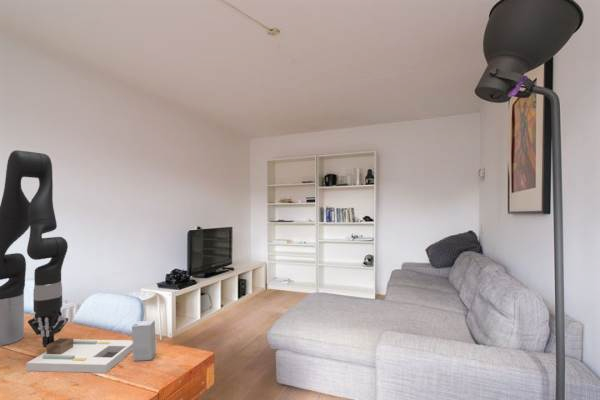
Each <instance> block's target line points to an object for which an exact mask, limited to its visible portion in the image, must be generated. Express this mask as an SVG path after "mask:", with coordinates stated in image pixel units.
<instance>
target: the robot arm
mask: <svg viewBox="0 0 600 400" xmlns="http://www.w3.org/2000/svg"><path fill="white" fill-rule="evenodd" d="M6 163H7V164H6V170H5V179H4V180H5V181H4V188H3V192H2V193H3V194H2V198H1V201H0V280H1V281H3V280H6V279H8V280H7V281H6V282H5V283H4V284H1V285H0V346H1V347H2V346H6V345H10V344H14V343H16V342H19V341H21V340H22V339H23V338H24V336H25V334H24V333H25V332H24V331H25V301H24V300H25V286H26V271H27V261H26V257H25V256H24V254H22V253H18V252H15V253H8V254H7V251H8V249H9V248H10V247H11V246H12V245H13V244H14V243H15V242H17V240H19V239H20V238H21V237H22V236H23V235H24V234H25V233H26V232H27V231H28V230H29V237H28V242H27V248H26V253H27V255H28V257H29V258H30V259H32V260H34V261H37V260H46V259H50V260H49V262H48V263H45V264H42V265H40V266H38V267H36V268H35V270H34V276H33V277H34V287H33V294H32V295H33V299H32V301H33V312H34V316H33V318H31V319H29V320H27V324H28V325H29V327H31V329H32V330H33V331H34V333H35V335H37V336H38V335H40V336H41V338H42V342H41V343H42V346H43V348H47V345H48V344H50V343H51V342H53V341H55V335H56V334H58V333H60V332H61V330H62V329H63V328H64V326H66V324H67V323H68V321H69V318H68V317H64V316H63V314H62V311H61V310H62V307H63V284H62V268H63V264H64V261H65V258H66V256H67V252H68V247H69V245H68V241H67V239H65V238H64V237H62V236H54V237H53V236H52V237H43V236H42V235H43V234H46V233H50V232H53V231H55V230H56V229H57V227H58V225H57V219H56V214H55V209H54V203H53V202H54V201H53V194H54V192H53V190H54V189H53V187H54V186H53V184H54V183H53V164H52V160H51V157H50V156H49V155H47V154H46V153H41V152H35V151H27V150H19V149H17V150H13V151H12V152H10V154H9V156H8V159H7V162H6ZM23 178H35V179H38V183H39V185H38V189H37V191H36V193H35V194H34V196H33V197H32V198H31V200H30V201H29V198H27V196H26V195H25V193H24V190H23V189H22V180H23Z"/></svg>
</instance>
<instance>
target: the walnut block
mask: <svg viewBox="0 0 600 400" xmlns="http://www.w3.org/2000/svg"><path fill="white" fill-rule="evenodd" d="M73 339H74V338H72V337H71V338H70V337H69V338H68V337H59V338H57V339H56V340H55V339H54V341H53V342H51V343H50V344H48V345H47V347H46V352H47V354H62V353H64V352H66V351H67V350H69V349H71V348H72V347H73Z"/></svg>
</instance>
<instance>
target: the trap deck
mask: <svg viewBox="0 0 600 400" xmlns="http://www.w3.org/2000/svg"><path fill="white" fill-rule="evenodd" d="M130 353H133V340H131V339H130V340H125V339H78V338H77V339H74V338H73V347H72V348H71V349H69V350H67V351H66V352H64V353H62V354H47V351H45V352H43V353H41V354H40V355H38V356H36V357H35V358H33V359H31V360H29V361H27V362H25V364H26V365H25V366H26V372H55V373H57V372H61V373H91V374H92V373H95V374H96V373H97V374H98V373H99V374H100V373H102V374H104V373H105V374H107V372H108V370H109V371H110V370H111V369H113V367H115V366H116V365H117V364H118V363H120V362H121V361H122V360H123V359H125V358H126V357H127V356H128V355H129V354H130ZM125 356H126V357H125Z"/></svg>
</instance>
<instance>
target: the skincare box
mask: <svg viewBox="0 0 600 400" xmlns="http://www.w3.org/2000/svg"><path fill="white" fill-rule="evenodd" d="M155 323H156V320H137V321H136V322H135V323H134V324H133V325H132V326H131V339H132V340H133V351H132V361H133V362H140V361H141V362H142V361H152V360H153V359H154V357H155V356H156V354H157V351H156V324H155Z"/></svg>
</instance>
